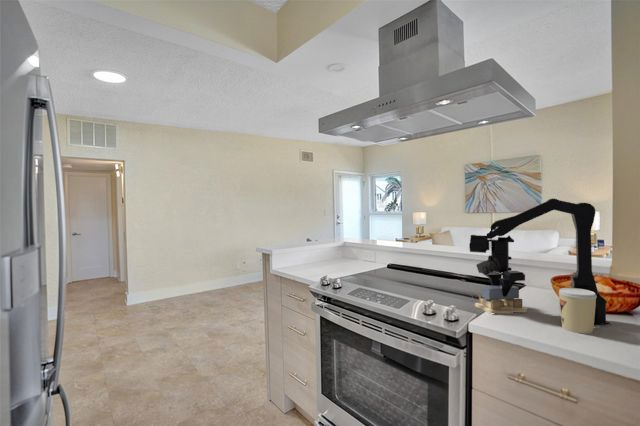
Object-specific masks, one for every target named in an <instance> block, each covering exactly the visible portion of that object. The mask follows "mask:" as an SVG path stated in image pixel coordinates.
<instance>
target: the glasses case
mask: <svg viewBox="0 0 640 426" xmlns="http://www.w3.org/2000/svg"><path fill="white" fill-rule="evenodd" d="M481 295H482V297H484V298H486V299H488V300H500V299H520V287H519V286H515V285H513V286H512V287H511V289H510V291H509V293H508V294H507V296H505V297H504V296H503V293H502V284H500V285H496V286H492V285H482V286H481Z"/></svg>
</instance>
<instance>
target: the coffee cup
mask: <svg viewBox="0 0 640 426" xmlns="http://www.w3.org/2000/svg"><path fill="white" fill-rule="evenodd" d="M558 294H559V295H558V296H559V309H560V310H559V311H560V319H561V320H560V321H561V327H562V328H563V330H567V331H569V332H572V333H576V334H584V335H585V334H587V335H590V334H592V333H593V332H594V329H595V325H594V318H595V306H596V298H597V296H596V294H595V293H594V292H592V291H589V290H585V289H578V288H572V287H561V288H559V290H558ZM593 334H594V333H593Z"/></svg>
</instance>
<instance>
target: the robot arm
mask: <svg viewBox="0 0 640 426" xmlns="http://www.w3.org/2000/svg"><path fill="white" fill-rule="evenodd" d="M552 211H558V212H562V213H565V214H569V215H571V218H572V222H573V225H574V229H575V248H576V249H575V250H576V253H575V254H576V271H575V274H573V273H571V274H570V273H569V275H570V279H571V282H570V288H578V289H585V290H589V291H592V292H594V293H595V294H596V296H597V298H596V306H595V318H594V326H596V325H608V324H611V322H610V321H608V320H607V305H606V304H607V302H608V301H607V300H606V299H605V298H604V296H603V295H601V293H599V291H598V287H597V282H596V280H595V277H594V273H593V263H592V262H593V261H592V257H593V255H592V233H591V232H592V227H593V224H594V222H595V216H596V208H595V206H593V205H592V204H591V203H588V202H578V203H574V202H570V201H565V200H561V199H560V200H559V199H557V198H549V199H547V200H546V201H545V202H544V201H543V202H542V203H540V204H538V205H536V206H533V207H531V208H529V209H527V210H524V211H522V212H520V213H518V214H516V215H512V216H509V217H505V218H502V219H499V220H495V221H494V222H492V224H491V226H490V231H489V232H487V233H486V235H478V234H477V235H476V234H470V239H469V243H468V244H469V245H468V246H469V253H482V254H483V253H484V254H486V253H487V252H488V251H490V250H491V251H490V253H491V254H490V255H488V256H487V260H484V261H481V262H479V263H476V264H475V265H476V266H475V267H476V269H477V272H478V273H479V274H482V275H484V276H486V277H487V278H488V280H489V282H490V284H491V285H490V286H496V285H502V293H503V296H504V297H505V296H507V294H508V293H509V291H510V289H511V287H512V286H514V284H515V283H516V282H521V281H522V282H523V281H526V274H525V273H524V272H523V271H518V270H512V267H510V265H509V264H510V262H509V261H510V260H512V256H510V255H509V254H510V253H509V250H510V249H509V243H514V242H515V239H513V238H512V237H511V235H507V234H508V233H510V232H512V231H513V230H515V228H517V227H519V226H521V225H522V224H525V223H526V222H530V221H532V220H534V219H536V218H538V217H540V216H543V215H545V214H548V213H550V212H552ZM505 235H507V237H505ZM496 237H497V239H493V238H496ZM490 243H491V244H490ZM490 245H491V246H490ZM490 248H491V249H490Z"/></svg>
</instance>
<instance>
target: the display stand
mask: <svg viewBox="0 0 640 426" xmlns="http://www.w3.org/2000/svg"><path fill="white" fill-rule="evenodd" d="M474 306H475V307H476V308H479V309H481V310H482V311H483V312H486V313H488V312H490V313H506V314H514V313H513V312H522V313H527V312H528V308H526V307H523V298H514V299H498V300H488V299H486V298H484V297H482V294H478V302H474ZM490 313H489V314H490Z"/></svg>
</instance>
